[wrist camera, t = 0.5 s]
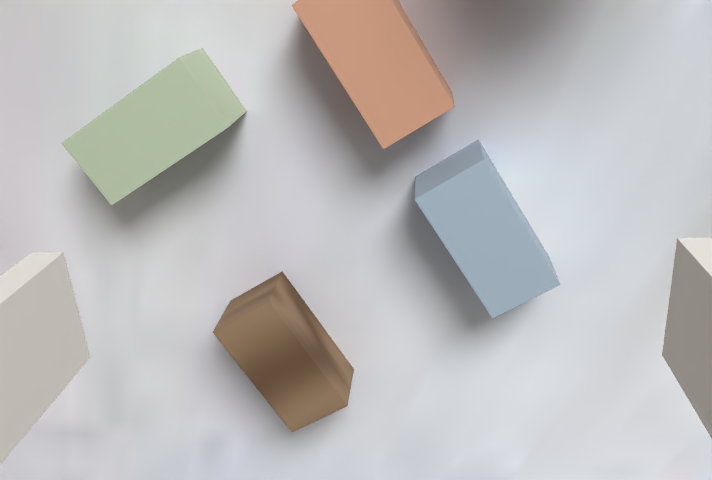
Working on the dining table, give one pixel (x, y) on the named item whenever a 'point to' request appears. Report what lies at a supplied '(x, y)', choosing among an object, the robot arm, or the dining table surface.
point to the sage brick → (155, 126)
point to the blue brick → (484, 230)
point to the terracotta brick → (378, 63)
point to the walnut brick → (286, 352)
